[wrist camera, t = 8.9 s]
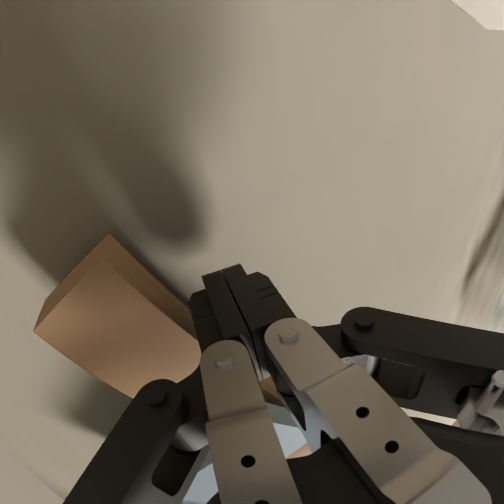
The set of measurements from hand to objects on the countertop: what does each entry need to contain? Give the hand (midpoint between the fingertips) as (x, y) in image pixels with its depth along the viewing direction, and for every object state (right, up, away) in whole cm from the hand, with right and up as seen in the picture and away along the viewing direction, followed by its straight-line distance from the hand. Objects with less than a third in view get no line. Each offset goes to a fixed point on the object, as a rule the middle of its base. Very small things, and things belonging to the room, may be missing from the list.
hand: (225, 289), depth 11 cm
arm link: (+1, -7, +5) cm, 9 cm away
